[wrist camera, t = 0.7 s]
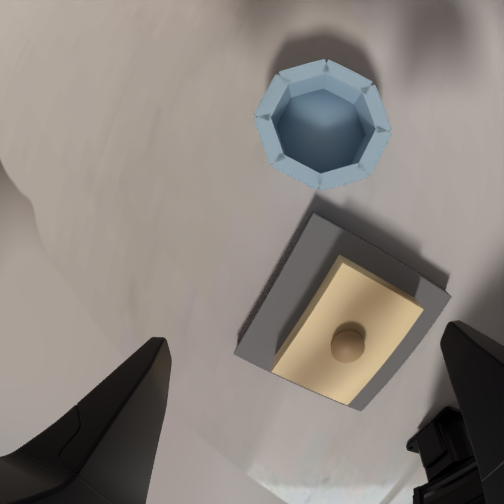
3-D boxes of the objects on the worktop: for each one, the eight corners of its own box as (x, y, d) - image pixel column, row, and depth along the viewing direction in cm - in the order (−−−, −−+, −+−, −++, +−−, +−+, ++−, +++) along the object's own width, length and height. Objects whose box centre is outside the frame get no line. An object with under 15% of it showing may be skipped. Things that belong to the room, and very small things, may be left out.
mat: (445, 290, 20) (451, 296, 19) (359, 402, 23) (361, 411, 22) (313, 211, 20) (313, 213, 19) (236, 346, 24) (233, 353, 23)
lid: (414, 297, 19) (426, 313, 17) (345, 389, 22) (348, 410, 19) (339, 254, 19) (343, 265, 17) (274, 356, 22) (270, 376, 20)
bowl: (389, 114, 18) (406, 102, 14) (343, 203, 20) (352, 210, 16) (295, 66, 18) (292, 43, 14) (249, 154, 20) (236, 149, 16)
